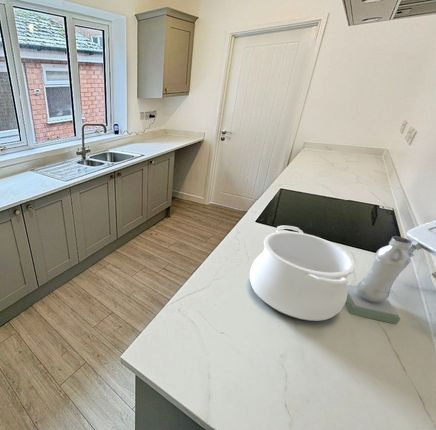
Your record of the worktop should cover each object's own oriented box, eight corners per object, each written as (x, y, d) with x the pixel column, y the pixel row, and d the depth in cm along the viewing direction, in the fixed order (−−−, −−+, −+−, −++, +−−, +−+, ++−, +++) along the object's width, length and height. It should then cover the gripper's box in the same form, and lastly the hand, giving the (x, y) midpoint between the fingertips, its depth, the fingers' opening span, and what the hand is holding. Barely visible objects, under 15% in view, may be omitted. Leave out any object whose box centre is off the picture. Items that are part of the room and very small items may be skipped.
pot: (237, 263, 96) (247, 222, 88) (310, 270, 93) (327, 227, 85) (262, 326, 72) (280, 277, 64) (363, 339, 68) (395, 288, 60)
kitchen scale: (379, 298, 80) (383, 291, 79) (396, 324, 72) (401, 316, 70) (337, 289, 84) (341, 282, 82) (349, 313, 75) (354, 306, 74)
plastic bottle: (350, 287, 80) (379, 231, 71) (377, 292, 78) (411, 236, 69) (359, 302, 75) (391, 244, 66) (388, 308, 73) (427, 249, 64)
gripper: (437, 209, 72) (382, 237, 78) (532, 252, 54) (451, 284, 60) (446, 224, 74) (391, 251, 79) (542, 270, 56) (462, 300, 61)
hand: (418, 265), depth 69 cm, fingers open, 8 cm apart
